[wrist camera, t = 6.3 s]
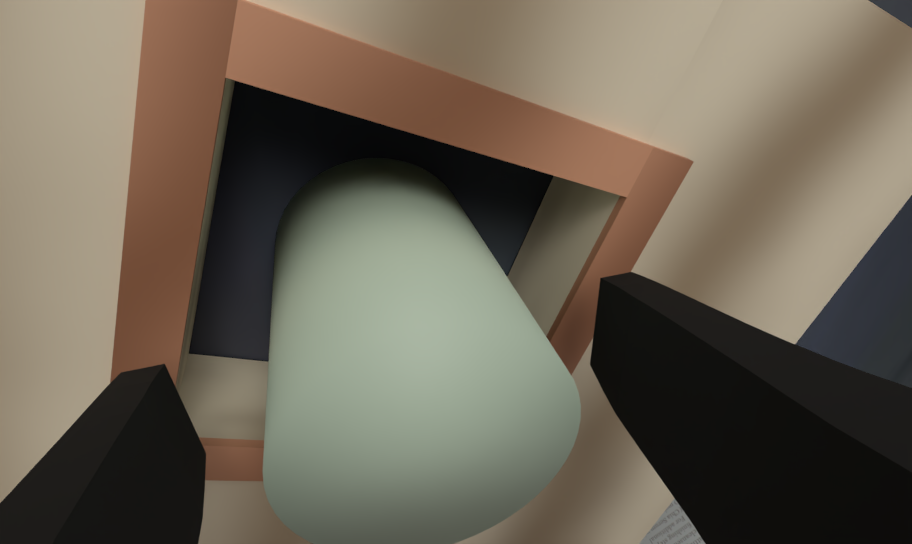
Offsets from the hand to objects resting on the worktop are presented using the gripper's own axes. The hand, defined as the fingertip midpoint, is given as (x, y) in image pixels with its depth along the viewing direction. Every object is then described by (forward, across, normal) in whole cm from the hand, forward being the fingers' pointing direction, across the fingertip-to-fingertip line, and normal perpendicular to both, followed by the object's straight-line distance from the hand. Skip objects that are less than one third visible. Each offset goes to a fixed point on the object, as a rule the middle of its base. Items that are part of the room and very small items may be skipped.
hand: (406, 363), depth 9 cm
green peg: (+4, 0, 0) cm, 4 cm away
